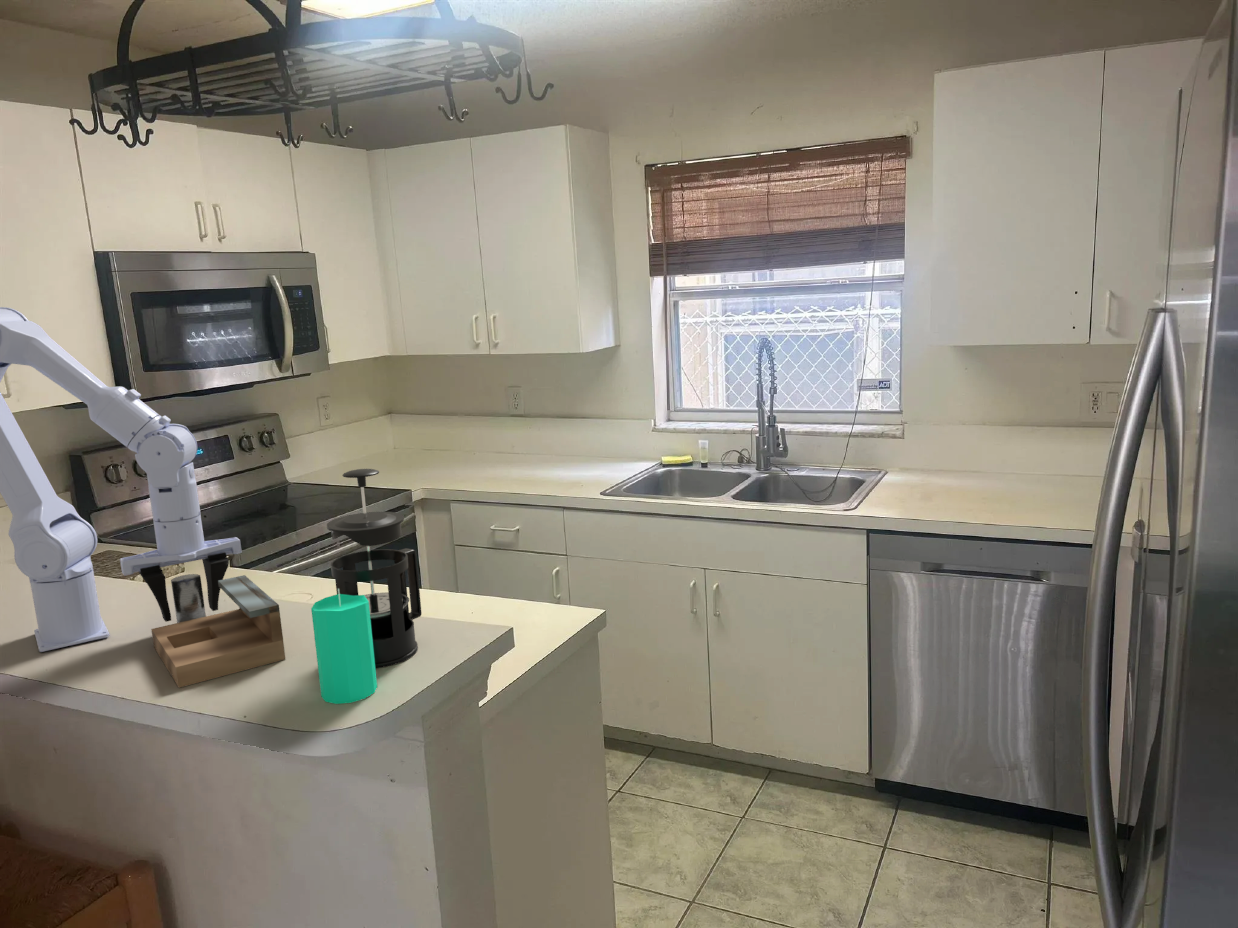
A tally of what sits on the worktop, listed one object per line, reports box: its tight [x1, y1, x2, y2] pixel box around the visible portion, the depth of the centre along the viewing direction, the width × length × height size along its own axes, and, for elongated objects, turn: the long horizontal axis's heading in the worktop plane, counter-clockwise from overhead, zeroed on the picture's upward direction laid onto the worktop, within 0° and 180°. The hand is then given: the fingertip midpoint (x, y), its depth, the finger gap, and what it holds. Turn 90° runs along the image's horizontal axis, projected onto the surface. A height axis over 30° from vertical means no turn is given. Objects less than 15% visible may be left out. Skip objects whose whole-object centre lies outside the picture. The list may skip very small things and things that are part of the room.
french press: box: [326, 468, 422, 669], centre depth 108 cm, size 12×9×23 cm
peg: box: [170, 573, 207, 623], centre depth 121 cm, size 4×4×7 cm
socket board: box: [151, 574, 286, 688], centre depth 112 cm, size 16×12×7 cm
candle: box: [310, 589, 378, 705], centre depth 98 cm, size 6×6×12 cm
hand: (190, 613), depth 122 cm, fingers open, 5 cm apart
